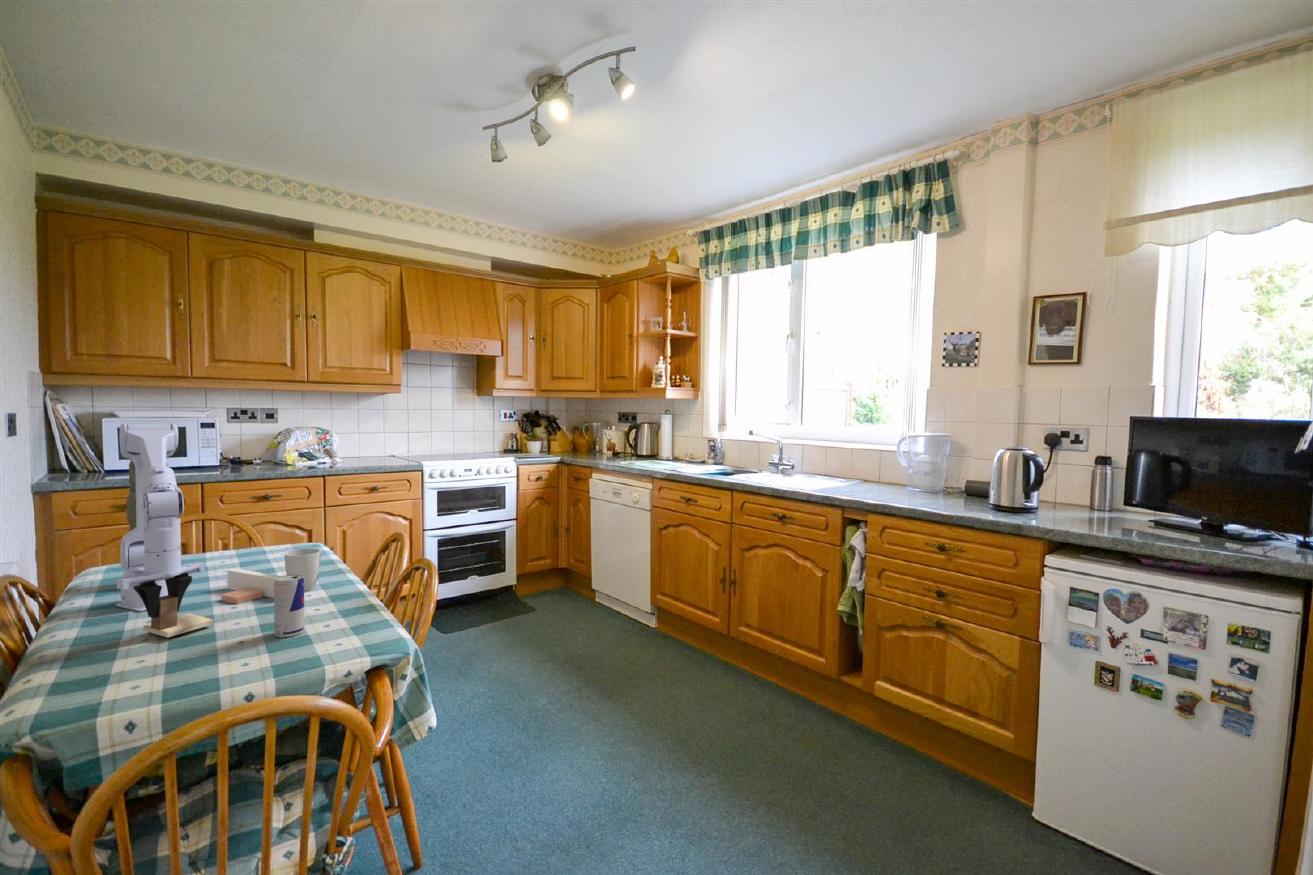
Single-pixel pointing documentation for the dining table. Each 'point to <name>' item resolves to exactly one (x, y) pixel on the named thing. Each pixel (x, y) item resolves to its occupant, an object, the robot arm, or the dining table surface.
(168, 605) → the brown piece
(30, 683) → the dining table surface
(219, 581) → the dining table surface
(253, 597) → the tile
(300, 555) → the cup
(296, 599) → the energy drink
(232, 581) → the batten
